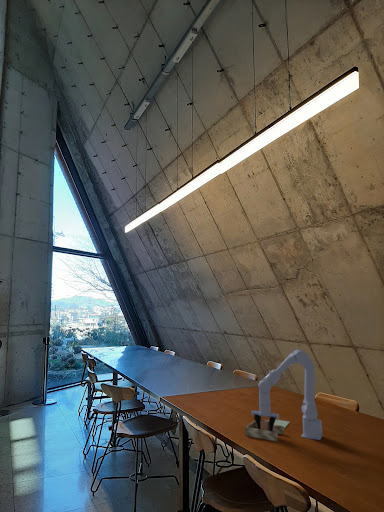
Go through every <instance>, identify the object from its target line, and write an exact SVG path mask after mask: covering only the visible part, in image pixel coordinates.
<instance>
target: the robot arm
mask: <svg viewBox="0 0 384 512" xmlns="http://www.w3.org/2000/svg"><path fill="white" fill-rule="evenodd" d="M312 360H313V359H311V356H310V354H308V353H307V352H306V351H303V350H302V349H299V348H298V349H294V350H293V351H292V352H290V354H288V356H286V358H285V359H284V360H283V361H282V362H281V364H280V365H278V367H277V368H276V369H271V370H269V371H268V374H267V375H266V376H265V377H263V378H262V379H261V380H260V381H259V382H258V385H257V387H258V389H259V390H258V393H259V394H258V403H259V404H258V406H259V407H258V408H259V410H251V416H254V417H253V419H254V422H256V423H257V426H258V429H260V430H261V428H260V421H262V417H265V418H269V419H268V420H269V422H270V431H273V426H274V423H275V420H280V414H279V413H275V412H271V395H270V391H271V389H272V387H273V386H274V385H275V384H276V383H277V382H279V380H280V379H281V374H283V372H285V371H286V370H287V369H288V368H290V366H292V365H296V364H298V363H299V365H301V366H302V367H303V368H304V386H303V387H304V390H303V391H304V398H303V401H302V405H301V409H300V410H301V412H302V414H303V415H302V432H303V433H302V434H301V436H300V437H301V438H306V439H311V440H317V441H321V440H322V438H323V423H322V422H323V421H322V420H321V419H318V418H317V417H318V415H319V414H318V413H319V412H318V410H317V405H316V402H315V401H316V400H315V371H316V369H315V367H316V366H315V364H314V362H313V361H312Z"/></svg>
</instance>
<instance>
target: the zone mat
mask: <svg viewBox="0 0 384 512" xmlns="http://www.w3.org/2000/svg"><path fill="white" fill-rule="evenodd" d="M290 423H291V421H287V420H282V419H276V420H275V423H274V425H280V426H284V429H286V427H288V425H290Z"/></svg>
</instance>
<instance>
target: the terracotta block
mask: <svg viewBox="0 0 384 512" xmlns="http://www.w3.org/2000/svg"><path fill="white" fill-rule="evenodd" d="M260 428H261V430H266V431H270V422H269V419H268V420H267V419H261V421H260Z"/></svg>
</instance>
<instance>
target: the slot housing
mask: <svg viewBox="0 0 384 512" xmlns="http://www.w3.org/2000/svg"><path fill="white" fill-rule="evenodd" d="M284 429H285V428H284V426H280V425H274V426H273V431H266V430H260V429H258V426H257V423H256V421H255V420H254V421H252V422H250V423H248V424H247V425H246V426H245V427H244V436H245V437H250V438H255V439H256V438H257V439H261V440H268V441H272V442H273V441H274V442H278V441H279V439H278V438H279V436H278V435H284V434H285V430H284Z"/></svg>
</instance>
